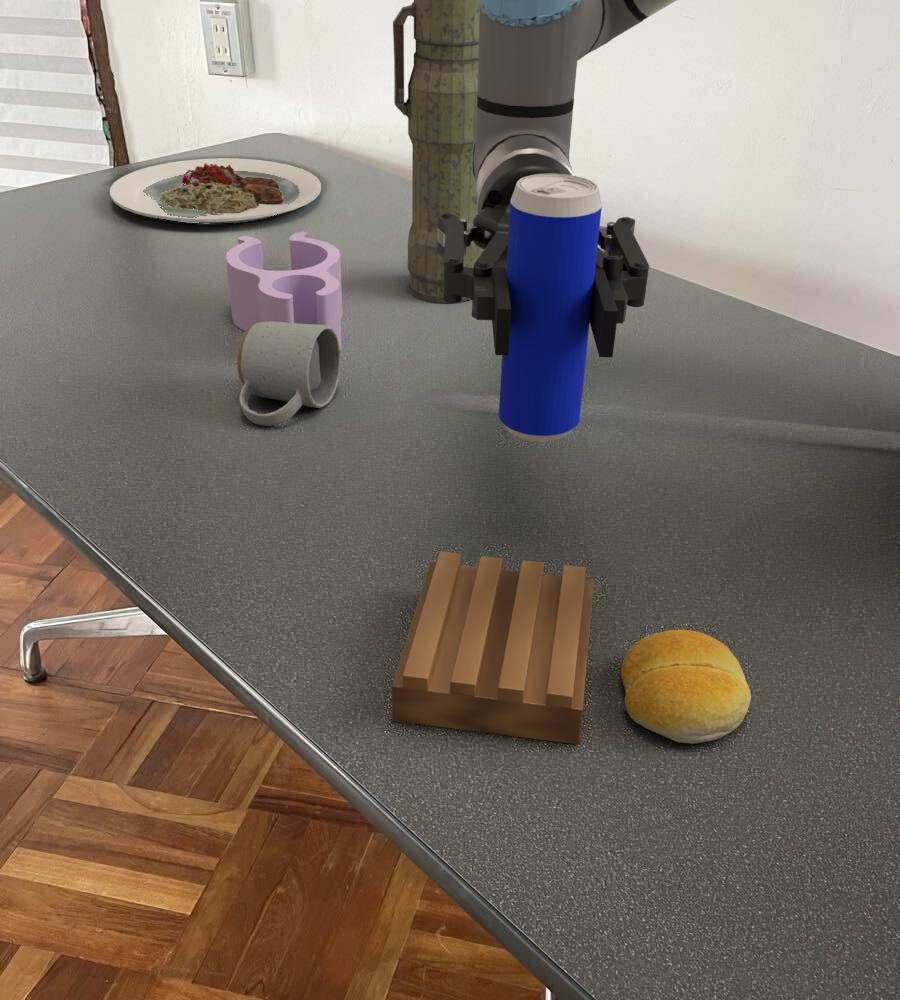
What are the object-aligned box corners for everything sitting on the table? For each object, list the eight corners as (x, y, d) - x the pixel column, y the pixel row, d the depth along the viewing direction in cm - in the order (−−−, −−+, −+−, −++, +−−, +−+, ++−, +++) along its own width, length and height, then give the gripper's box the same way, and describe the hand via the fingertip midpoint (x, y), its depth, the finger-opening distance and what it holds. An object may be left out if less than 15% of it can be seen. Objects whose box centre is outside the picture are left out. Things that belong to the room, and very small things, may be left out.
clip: (367, 354, 114) (365, 291, 110) (250, 367, 111) (244, 302, 107) (327, 287, 129) (325, 229, 125) (223, 296, 126) (217, 237, 122)
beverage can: (539, 400, 72) (558, 166, 63) (595, 429, 69) (623, 188, 60) (481, 421, 69) (492, 181, 60) (536, 453, 66) (556, 204, 57)
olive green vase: (389, 280, 132) (384, -52, 111) (482, 273, 134) (495, -52, 113) (403, 307, 125) (402, -41, 104) (501, 300, 127) (518, -42, 106)
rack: (590, 612, 79) (596, 567, 76) (578, 745, 68) (584, 697, 65) (429, 594, 80) (430, 549, 78) (392, 721, 69) (391, 674, 67)
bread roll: (628, 747, 68) (636, 700, 65) (615, 656, 75) (622, 611, 72) (759, 752, 68) (772, 705, 65) (734, 661, 75) (744, 615, 72)
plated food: (182, 248, 139) (179, 222, 137) (74, 194, 157) (69, 170, 154) (363, 205, 156) (362, 180, 154) (247, 160, 173) (245, 138, 171)
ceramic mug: (269, 375, 109) (262, 302, 105) (344, 387, 108) (340, 314, 103) (220, 422, 101) (211, 346, 97) (300, 436, 100) (293, 360, 95)
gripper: (646, 258, 81) (707, 398, 62) (404, 254, 80) (392, 392, 62) (660, 154, 76) (730, 270, 58) (403, 148, 76) (391, 263, 57)
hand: (555, 333), depth 60 cm, fingers closed on beverage can, 5 cm apart
